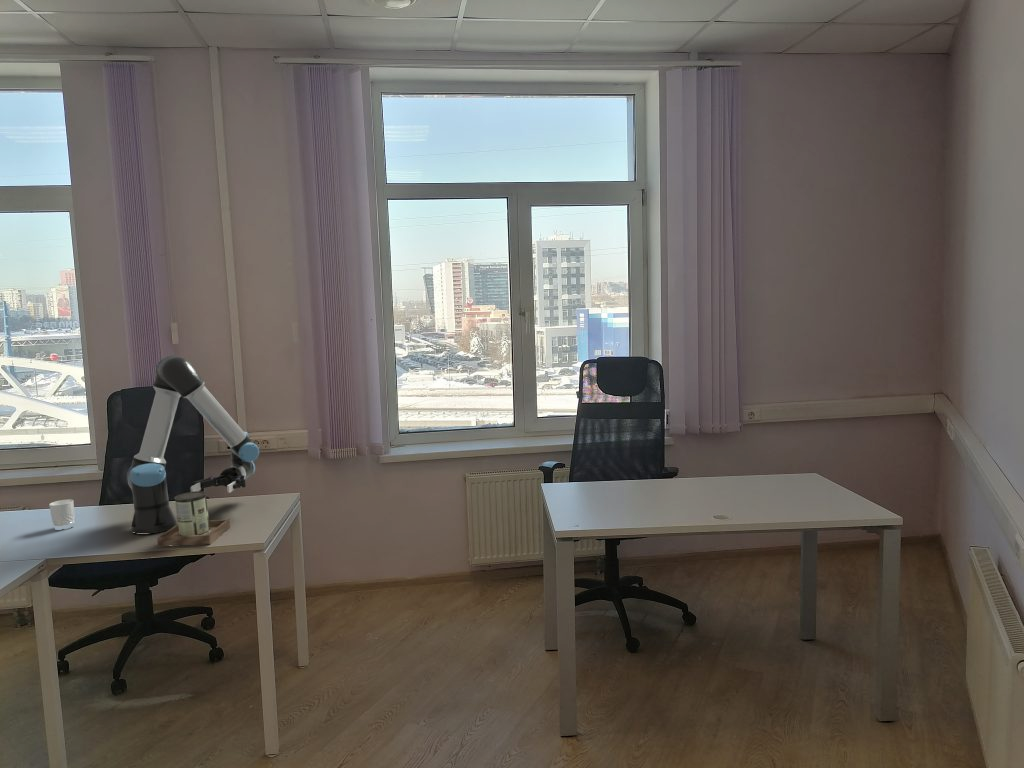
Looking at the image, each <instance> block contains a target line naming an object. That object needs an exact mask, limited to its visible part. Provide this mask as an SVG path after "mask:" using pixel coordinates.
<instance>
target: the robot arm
mask: <svg viewBox="0 0 1024 768" xmlns="http://www.w3.org/2000/svg"><path fill="white" fill-rule="evenodd" d="M153 382H154V383H153V386H152V388H153V389H154V391H155V394H154V398H153V402H152V405H151V409H150V412H149V415H148V416H149V417H148V420H147V422H146V423H147V424H146V427H145V430H144V434H143V438H142V442H141V446H140V449H139V452H138V453H136V454H135V455H134V456H133V458H132V462H131V465H130V467H129V468H128V470H127V474H126V482H127V485H128V487H129V489H130V490H131V492H132V500H133V501H132V502H133V508H134V509H133V510H134V512H133V517H132V521H131V525H130V526H131V527H130V528H131V529H130V530H131V533H132V532H135V533H155V534H157V533H156V532H160V533H163V531H164V532H167V531H168V530H170V529H171V528H173V527H174V526H175V525H177V524H178V522H177V518H176V516H175V515H174V512H173V510H172V508H171V506H170V502H169V494H168V484H167V473H166V464H167V461H166V459H165V453H166V448H167V445H168V441H169V438H170V434H171V430H172V428H173V424H174V419H175V415H176V412H177V408H178V404H179V401H180V398H181V397H182V398H183V399H187V400H188V401H189V402H190V403H191V404H192V406H193V407H194V408H195V409H196V410H197V411H198V412H199V414H200V415H201V416H202V417H203V418H204V419H205V420H206V422H208V423H209V425H210V426H211V427H212V428H213V429H214V430H215V431H216V432H217V434H218V435H219V436H220V437H221V438H222V440H223V441H224V442H225V443H226V444H227V445H228V446H229V449H230V450H229V451H230V458H231V459H230V460H231V466H229V467H227V468H225V469H224V470H222V471H221V472H220V475H219V476H214V477H213V476H209V477H207V478H204V479H203V478H202V479H199V480H196V481H192V482H191V486H190V487H189V488H190V492H195V491H201V490H202V489H206V488H209V487H215V488H216V487H220V486H222V487H226V490H227V493H228V494H230V493H232V492H233V491H235V490H236V489H240V488H241V487H242V488H246V480H247V479H249V478H250V477H252V475H253V474H254V473H255V471H256V466H255V462H254V461H256V460H257V459H258V457H259V455H260V448H259V447H258V445H257V444H256V443H254V442H253V441H252V440H251V438H250V436H249V435H250V434H249V433H248V431H244V430H243V429H242V428H241V426H240V425H238V423H237V422H236V421H235V420H234V419H233V418H232V416H231V415H230V414H229V413H228V411H227V410H226V409H225V408H224V407H223V406H222V405H221V403H220V402H219V401H218V400H217V399H216V398H215V396H214V395H213V394H212V393H211V392H210V391H209V390H208V388H207V387H206V386H205V384H206V383H205V381H204V379H203V378H202V376H200V373H198V371H197V370H196V368H195V366H194V365H193V364H192V363H191V361H189V360H188V359H187V358H185V357H182V356H179V355H168V356H165V357H163V358H162V359H161V360H160V361H159V362H158V363H157V365H156V367H155V377H154V381H153ZM166 530H167V531H166Z"/></svg>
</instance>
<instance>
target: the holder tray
mask: <svg viewBox="0 0 1024 768" xmlns="http://www.w3.org/2000/svg"><path fill="white" fill-rule="evenodd" d="M209 526H210V533H208V534H206V535H191V536H179V527H178V523H177V525H175V526H174V527H173V528H171V529H170V530H167V531H164V533H162V534H161V535H160V536H158V537H157V538H156V543H157V547H158V546H169V545H191V546H206V545H205V544H210V545H212V544H213V543H214V542H215V541H216V540H218V539H219V538H220V537H221V536H223V535H224V534H225V533H226V532H227V531H228V529H229V528H230V527H231V520H230V519H211V520H210V519H209ZM230 529H231V528H230ZM230 529H229V530H230ZM224 532H225V533H224ZM223 533H224V534H223ZM222 534H223V535H222ZM219 536H220V537H219ZM218 537H219V538H218ZM217 538H218V539H217ZM212 542H213V543H212ZM211 543H212V544H211ZM202 544H204V545H202Z"/></svg>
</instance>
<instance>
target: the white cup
mask: <svg viewBox="0 0 1024 768" xmlns="http://www.w3.org/2000/svg"><path fill="white" fill-rule="evenodd" d="M74 503H75V502H74V499H62V500H56V501H53V502H50V503H49V504H48V505H49V510H50V515H51V520H52V523H53V526H54V525H55V526H63V525H68V524H72V523H75V519H76V517H75V506H74V505H75V504H74Z"/></svg>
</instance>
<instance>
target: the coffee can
mask: <svg viewBox="0 0 1024 768" xmlns="http://www.w3.org/2000/svg"><path fill="white" fill-rule="evenodd" d="M173 499H174V502H175V509H176V510H175V511H176V517H177V518H176V521H177V524H178V527H179V536H191V535H206V534H208V533H210V526H209V520H210V518H209V510H208V502H207V492H206V491H201V490H199V491H195V492H191V491H189V492H188V491H187V492H185V493H180V494H178V495H176V496H174V497H173Z"/></svg>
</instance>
